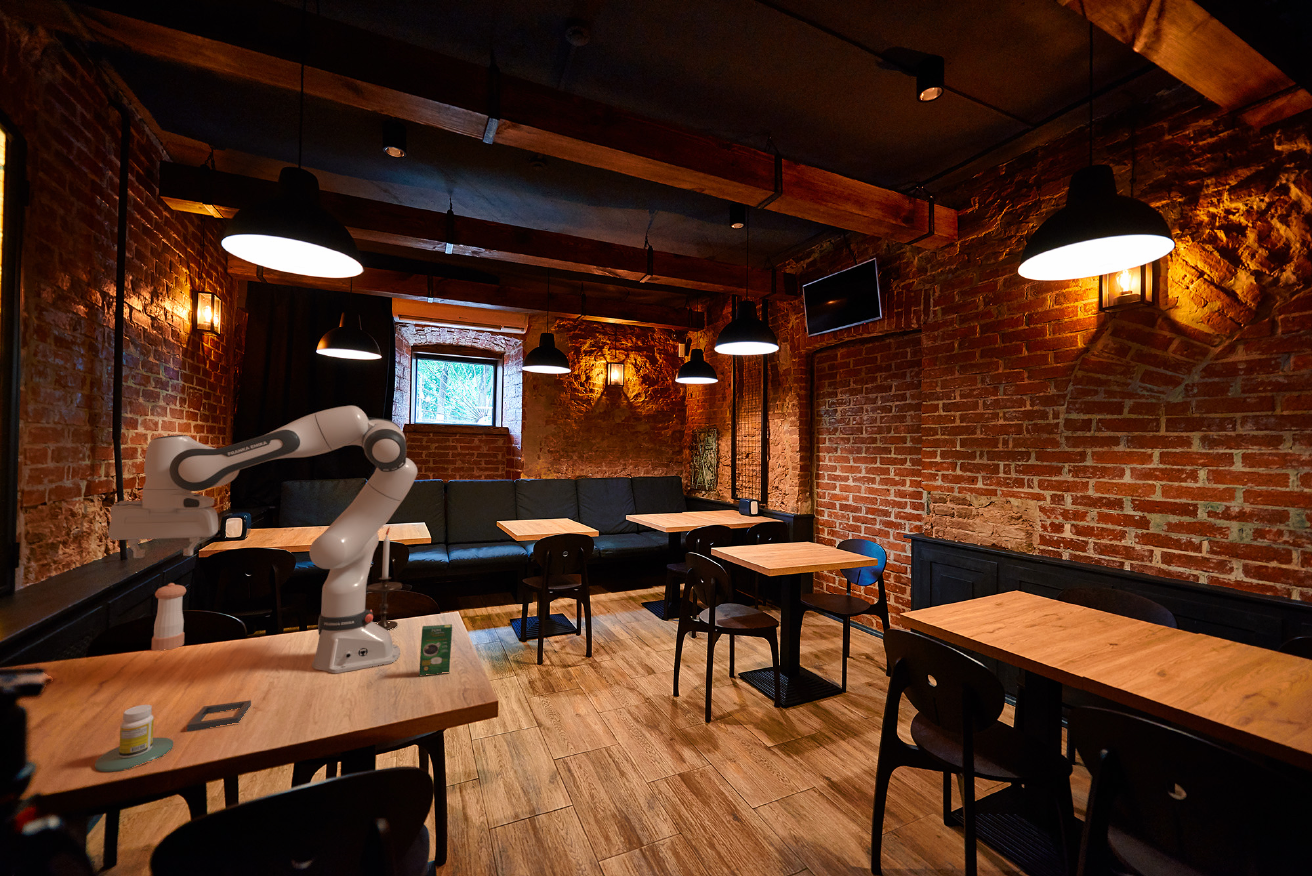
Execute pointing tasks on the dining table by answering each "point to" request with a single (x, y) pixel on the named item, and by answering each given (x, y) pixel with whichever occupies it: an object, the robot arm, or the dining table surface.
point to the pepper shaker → (169, 618)
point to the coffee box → (435, 649)
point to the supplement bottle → (136, 731)
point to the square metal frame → (198, 724)
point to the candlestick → (385, 587)
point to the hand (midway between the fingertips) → (163, 556)
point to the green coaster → (116, 763)
